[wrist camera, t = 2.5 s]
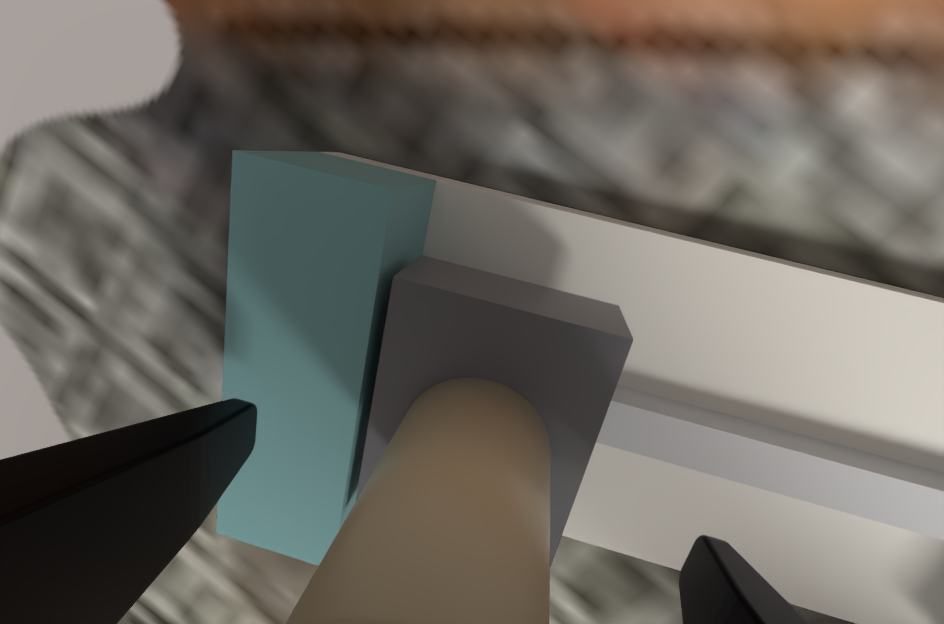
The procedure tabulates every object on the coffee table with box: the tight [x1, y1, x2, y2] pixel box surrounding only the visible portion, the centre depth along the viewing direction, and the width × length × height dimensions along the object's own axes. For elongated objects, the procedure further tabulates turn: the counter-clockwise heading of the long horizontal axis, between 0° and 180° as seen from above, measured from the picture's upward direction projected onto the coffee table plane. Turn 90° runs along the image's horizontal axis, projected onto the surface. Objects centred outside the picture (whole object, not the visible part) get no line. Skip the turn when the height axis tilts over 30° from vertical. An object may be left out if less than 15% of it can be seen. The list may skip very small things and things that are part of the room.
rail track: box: [216, 150, 944, 624], centre depth 11 cm, size 9×23×4 cm, turn 77°
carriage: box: [286, 255, 634, 624], centre depth 9 cm, size 6×4×8 cm
